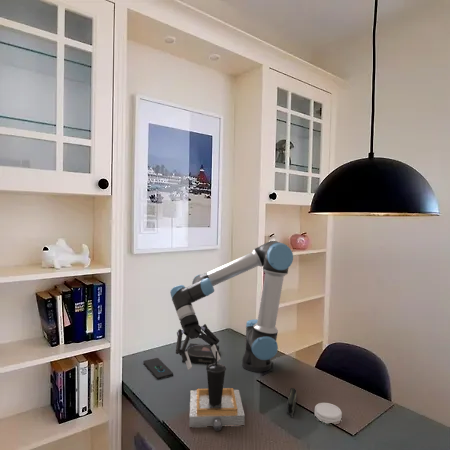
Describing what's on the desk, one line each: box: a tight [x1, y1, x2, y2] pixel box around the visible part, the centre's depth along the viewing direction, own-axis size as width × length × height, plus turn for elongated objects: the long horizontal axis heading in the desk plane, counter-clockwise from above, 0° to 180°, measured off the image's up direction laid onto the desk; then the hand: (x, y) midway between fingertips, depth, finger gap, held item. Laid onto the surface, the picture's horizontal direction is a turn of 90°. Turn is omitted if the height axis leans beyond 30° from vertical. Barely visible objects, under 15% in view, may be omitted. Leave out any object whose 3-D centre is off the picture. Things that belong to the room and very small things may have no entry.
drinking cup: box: [205, 351, 227, 406], centre depth 133 cm, size 8×8×20 cm
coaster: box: [314, 402, 343, 423], centre depth 132 cm, size 10×10×4 cm
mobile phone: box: [287, 387, 297, 419], centre depth 138 cm, size 5×3×15 cm
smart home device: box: [142, 357, 174, 381], centre depth 168 cm, size 8×2×20 cm
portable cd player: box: [181, 343, 220, 366], centre depth 184 cm, size 16×17×4 cm
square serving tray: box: [189, 387, 246, 432], centre depth 132 cm, size 20×21×6 cm
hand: (204, 364), depth 140 cm, fingers open, 13 cm apart
